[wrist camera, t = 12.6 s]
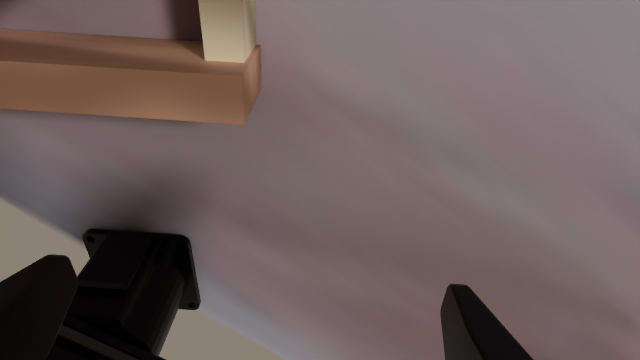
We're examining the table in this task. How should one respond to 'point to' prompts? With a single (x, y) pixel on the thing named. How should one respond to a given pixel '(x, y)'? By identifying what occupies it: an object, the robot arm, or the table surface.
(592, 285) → the table surface
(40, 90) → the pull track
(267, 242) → the table surface
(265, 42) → the table surface
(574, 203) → the table surface
